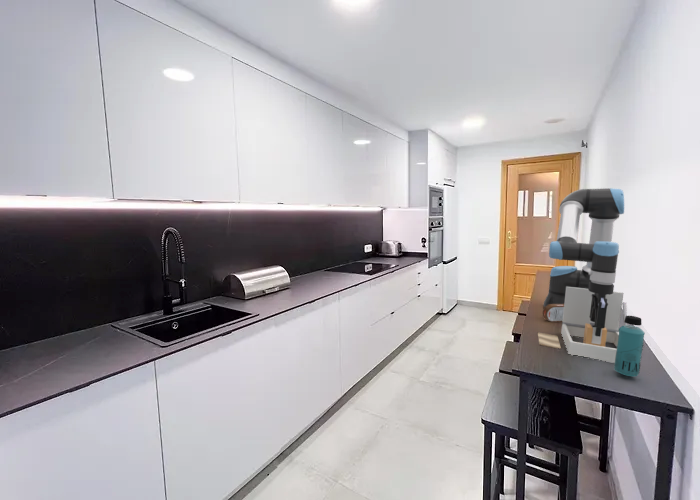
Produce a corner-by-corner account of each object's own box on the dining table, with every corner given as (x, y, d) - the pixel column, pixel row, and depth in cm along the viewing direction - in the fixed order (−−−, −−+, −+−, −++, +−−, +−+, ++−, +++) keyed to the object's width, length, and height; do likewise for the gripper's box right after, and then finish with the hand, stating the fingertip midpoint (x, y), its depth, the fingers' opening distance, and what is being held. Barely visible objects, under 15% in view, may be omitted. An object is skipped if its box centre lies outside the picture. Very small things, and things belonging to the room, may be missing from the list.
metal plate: (537, 333, 142) (537, 332, 142) (557, 336, 139) (557, 335, 139) (539, 345, 129) (539, 344, 129) (560, 349, 126) (561, 348, 126)
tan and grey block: (583, 342, 131) (585, 321, 130) (601, 345, 128) (604, 324, 127) (585, 347, 126) (588, 326, 125) (604, 350, 124) (607, 329, 123)
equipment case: (561, 333, 142) (566, 286, 139) (620, 343, 133) (627, 292, 130) (568, 354, 121) (574, 299, 119) (639, 367, 112) (648, 308, 109)
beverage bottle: (617, 378, 105) (625, 318, 102) (609, 369, 111) (616, 312, 108) (642, 383, 102) (651, 321, 100) (633, 373, 108) (641, 315, 106)
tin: (569, 319, 160) (571, 303, 159) (574, 322, 157) (576, 305, 156) (541, 320, 159) (542, 303, 157) (545, 322, 155) (547, 305, 154)
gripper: (585, 276, 134) (578, 331, 137) (594, 286, 117) (586, 347, 121) (608, 278, 130) (600, 334, 133) (620, 288, 114) (612, 352, 117)
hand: (594, 340), depth 127 cm, fingers closed on tan and grey block, 5 cm apart
